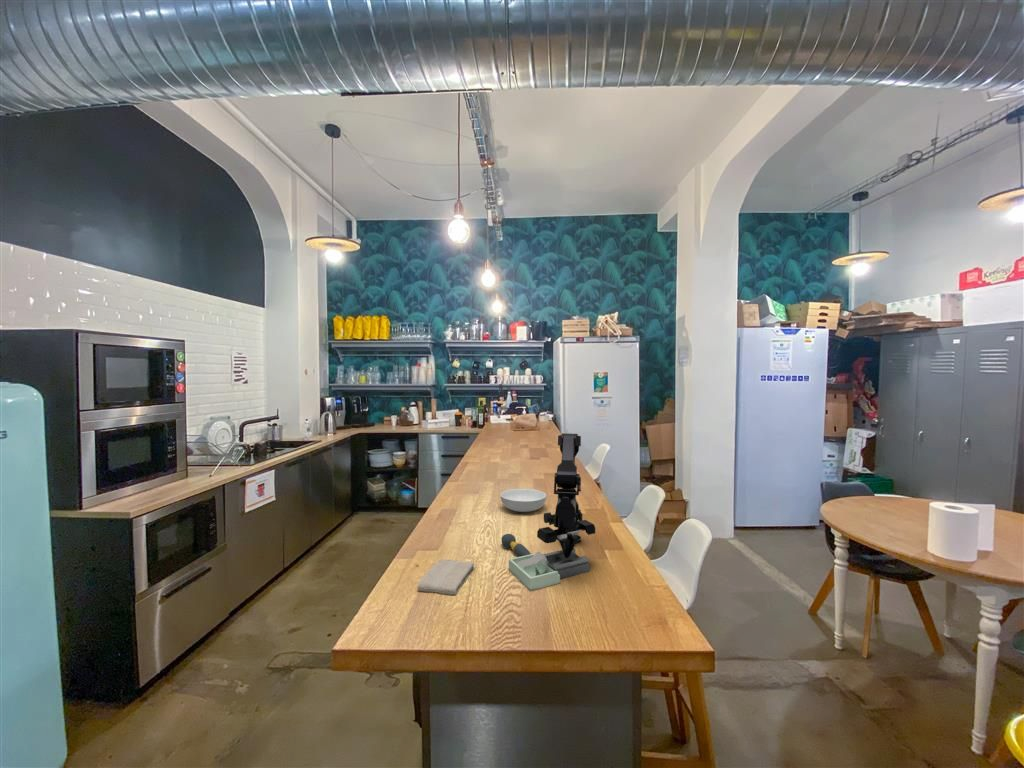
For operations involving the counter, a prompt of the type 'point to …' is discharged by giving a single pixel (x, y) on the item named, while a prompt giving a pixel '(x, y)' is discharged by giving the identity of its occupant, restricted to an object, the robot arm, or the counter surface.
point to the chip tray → (537, 581)
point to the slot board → (567, 563)
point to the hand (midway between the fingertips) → (566, 557)
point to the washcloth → (446, 577)
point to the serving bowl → (523, 499)
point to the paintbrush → (514, 545)
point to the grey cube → (540, 562)
